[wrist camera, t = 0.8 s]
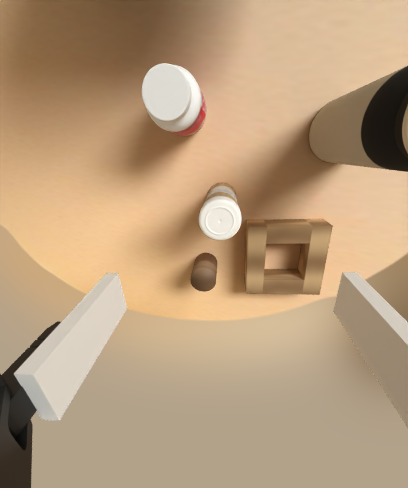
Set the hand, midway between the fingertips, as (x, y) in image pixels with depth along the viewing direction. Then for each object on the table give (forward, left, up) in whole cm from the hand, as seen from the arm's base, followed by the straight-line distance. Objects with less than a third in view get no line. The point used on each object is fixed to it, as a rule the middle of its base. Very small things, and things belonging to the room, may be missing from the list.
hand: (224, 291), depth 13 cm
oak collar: (+9, +9, -24) cm, 27 cm away
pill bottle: (-13, -6, -24) cm, 28 cm away
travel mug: (-10, +16, -24) cm, 30 cm away
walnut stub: (+11, -4, -24) cm, 27 cm away
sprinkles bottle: (-1, -1, -24) cm, 24 cm away
